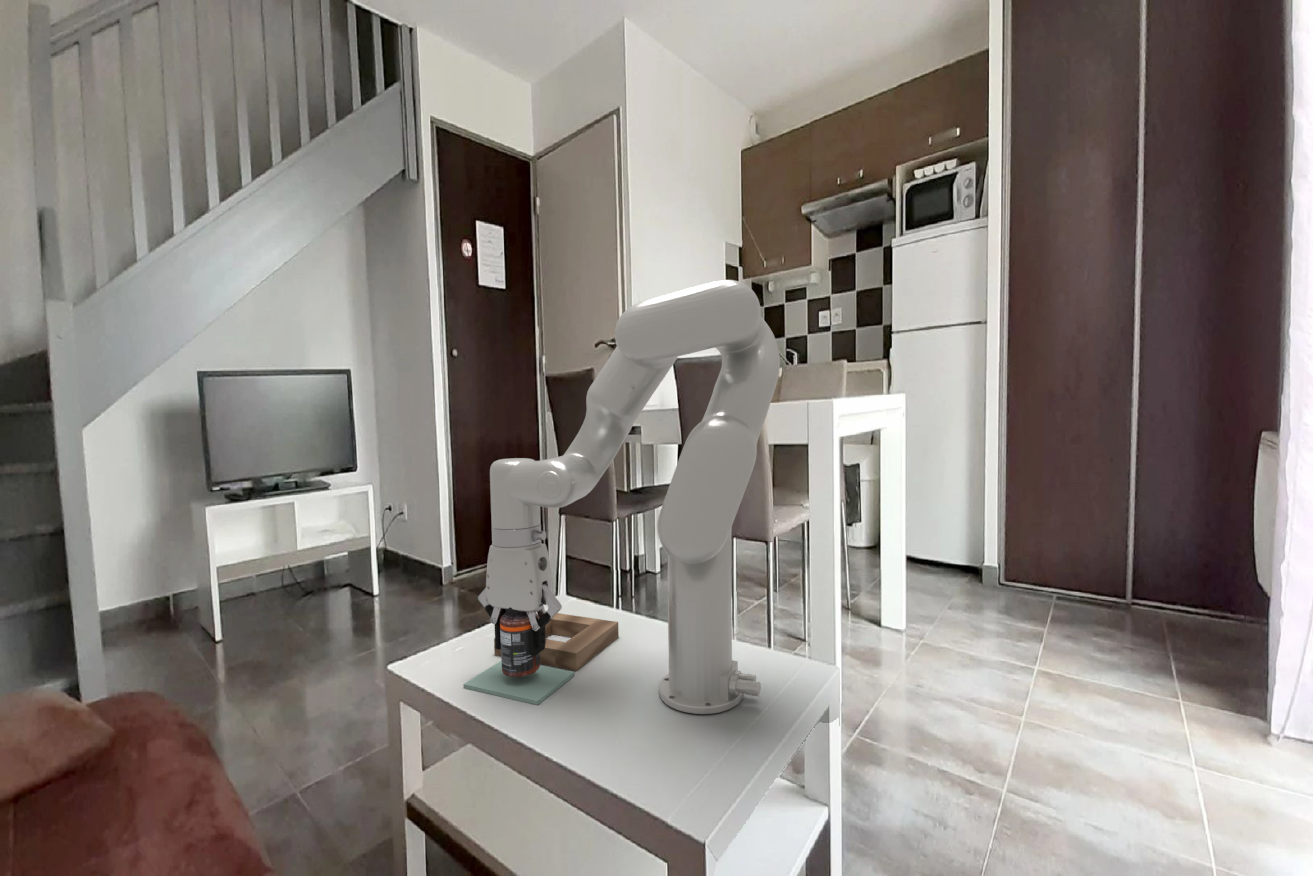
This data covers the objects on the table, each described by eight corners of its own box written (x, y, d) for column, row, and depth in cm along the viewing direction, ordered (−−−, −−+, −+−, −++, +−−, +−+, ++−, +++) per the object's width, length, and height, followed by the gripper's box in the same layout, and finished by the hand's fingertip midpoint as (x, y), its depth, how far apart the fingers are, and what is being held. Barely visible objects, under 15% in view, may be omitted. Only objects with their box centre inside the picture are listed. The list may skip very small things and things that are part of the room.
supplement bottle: (531, 659, 93) (529, 592, 92) (546, 672, 88) (544, 601, 87) (496, 669, 89) (494, 599, 89) (509, 683, 84) (507, 609, 84)
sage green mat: (574, 675, 90) (574, 671, 90) (537, 705, 81) (537, 701, 81) (504, 661, 96) (504, 658, 96) (463, 688, 87) (463, 684, 87)
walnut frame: (618, 637, 106) (618, 622, 106) (576, 671, 92) (576, 653, 92) (543, 625, 113) (543, 611, 112) (494, 655, 99) (494, 638, 99)
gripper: (576, 535, 88) (579, 648, 88) (489, 528, 95) (492, 633, 95) (548, 545, 81) (552, 667, 82) (457, 538, 88) (461, 650, 88)
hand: (520, 648), depth 88 cm, fingers closed on supplement bottle, 5 cm apart
